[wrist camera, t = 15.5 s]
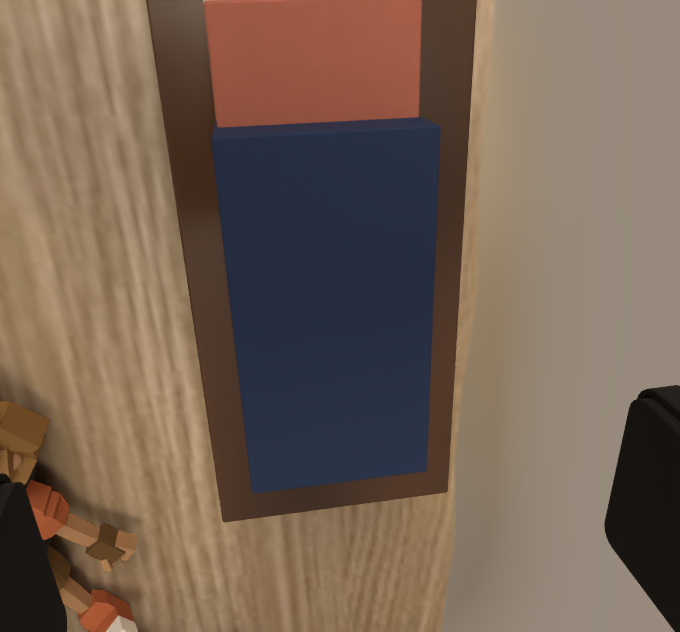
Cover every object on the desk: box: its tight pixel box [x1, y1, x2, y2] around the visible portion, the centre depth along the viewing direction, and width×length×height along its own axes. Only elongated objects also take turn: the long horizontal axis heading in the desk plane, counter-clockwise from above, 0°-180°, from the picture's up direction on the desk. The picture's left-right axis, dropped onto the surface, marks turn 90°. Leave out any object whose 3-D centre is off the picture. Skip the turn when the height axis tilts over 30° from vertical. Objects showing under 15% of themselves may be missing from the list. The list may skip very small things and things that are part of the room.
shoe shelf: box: [146, 0, 477, 522], centre depth 23 cm, size 9×22×8 cm, turn 2°
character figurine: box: [0, 401, 138, 632], centre depth 30 cm, size 12×5×18 cm
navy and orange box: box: [203, 0, 441, 494], centre depth 17 cm, size 13×5×5 cm, turn 2°
